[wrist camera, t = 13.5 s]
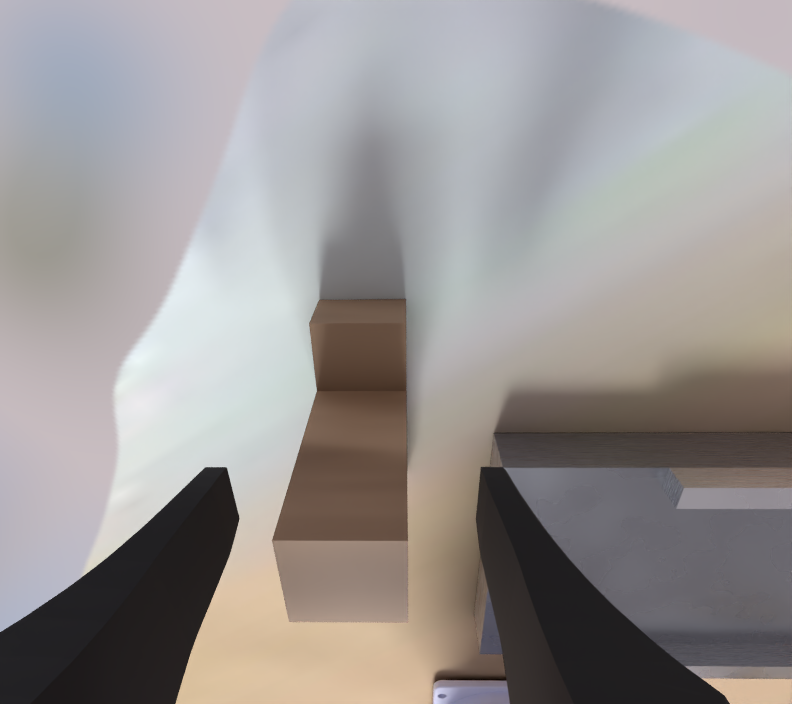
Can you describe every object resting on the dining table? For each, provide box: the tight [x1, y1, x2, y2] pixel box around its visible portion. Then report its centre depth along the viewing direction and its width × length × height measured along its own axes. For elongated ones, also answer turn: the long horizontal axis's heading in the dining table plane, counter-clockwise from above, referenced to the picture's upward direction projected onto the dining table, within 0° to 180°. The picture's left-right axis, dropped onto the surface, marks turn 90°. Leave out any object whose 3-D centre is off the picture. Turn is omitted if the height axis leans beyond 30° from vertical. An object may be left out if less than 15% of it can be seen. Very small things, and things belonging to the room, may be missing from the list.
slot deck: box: [474, 433, 792, 679], centre depth 20 cm, size 12×20×3 cm, turn 91°
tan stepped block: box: [272, 299, 408, 623], centre depth 14 cm, size 8×3×8 cm, turn 1°
